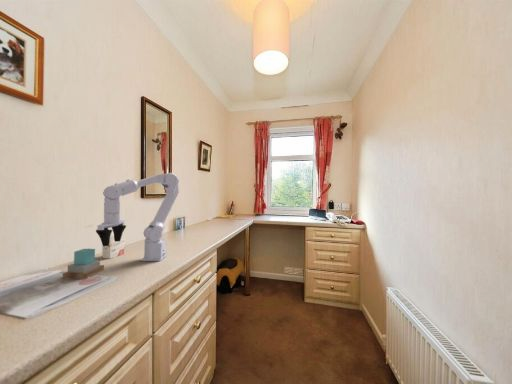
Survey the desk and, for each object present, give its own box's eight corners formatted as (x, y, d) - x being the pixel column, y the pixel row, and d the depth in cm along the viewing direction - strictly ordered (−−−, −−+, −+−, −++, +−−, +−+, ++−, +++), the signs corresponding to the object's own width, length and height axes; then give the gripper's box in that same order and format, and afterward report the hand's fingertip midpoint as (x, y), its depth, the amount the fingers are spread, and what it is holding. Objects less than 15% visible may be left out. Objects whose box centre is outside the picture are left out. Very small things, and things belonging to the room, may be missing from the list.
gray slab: (99, 266, 84) (99, 260, 84) (83, 273, 77) (83, 266, 77) (84, 265, 85) (84, 259, 85) (67, 272, 78) (67, 265, 78)
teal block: (94, 261, 84) (94, 248, 84) (85, 264, 79) (85, 252, 79) (83, 260, 84) (84, 248, 84) (73, 264, 79) (74, 251, 79)
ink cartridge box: (116, 253, 109) (116, 225, 109) (124, 253, 108) (124, 226, 108) (101, 258, 101) (101, 228, 101) (109, 258, 100) (110, 229, 100)
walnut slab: (103, 271, 86) (104, 265, 86) (86, 280, 77) (86, 273, 77) (82, 270, 86) (82, 265, 86) (62, 280, 77) (62, 273, 77)
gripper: (113, 211, 97) (113, 239, 97) (89, 214, 82) (89, 247, 82) (128, 211, 97) (128, 239, 97) (107, 214, 82) (107, 247, 82)
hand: (111, 243), depth 90 cm, fingers open, 7 cm apart
